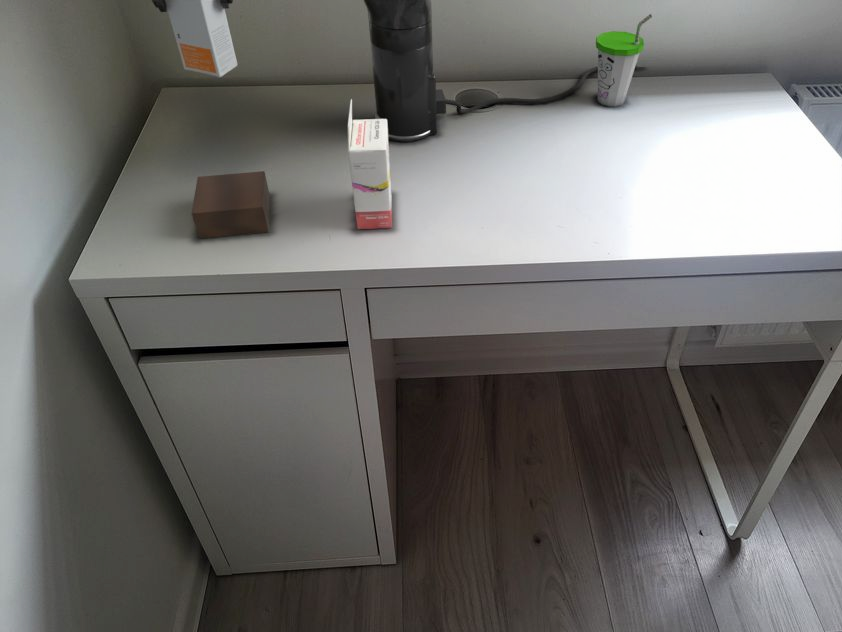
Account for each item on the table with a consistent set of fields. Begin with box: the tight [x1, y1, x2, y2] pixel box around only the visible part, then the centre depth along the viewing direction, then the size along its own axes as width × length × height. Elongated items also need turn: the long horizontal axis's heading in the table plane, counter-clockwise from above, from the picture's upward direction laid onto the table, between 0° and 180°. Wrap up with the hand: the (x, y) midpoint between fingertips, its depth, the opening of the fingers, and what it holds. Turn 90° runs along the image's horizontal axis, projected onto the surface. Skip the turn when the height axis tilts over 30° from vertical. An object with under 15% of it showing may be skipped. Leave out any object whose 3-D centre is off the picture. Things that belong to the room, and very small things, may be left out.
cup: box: [595, 13, 653, 108], centre depth 117 cm, size 8×8×15 cm
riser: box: [191, 170, 271, 239], centre depth 96 cm, size 9×9×4 cm
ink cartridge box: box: [347, 98, 393, 230], centre depth 93 cm, size 9×5×15 cm, turn 5°
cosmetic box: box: [165, 0, 238, 78], centre depth 92 cm, size 6×4×12 cm
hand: (193, 7), depth 89 cm, fingers closed on cosmetic box, 7 cm apart
